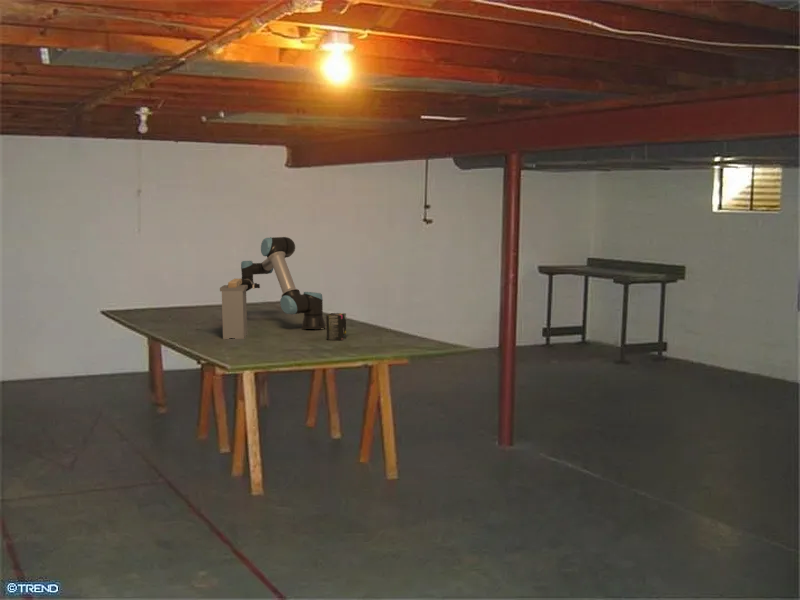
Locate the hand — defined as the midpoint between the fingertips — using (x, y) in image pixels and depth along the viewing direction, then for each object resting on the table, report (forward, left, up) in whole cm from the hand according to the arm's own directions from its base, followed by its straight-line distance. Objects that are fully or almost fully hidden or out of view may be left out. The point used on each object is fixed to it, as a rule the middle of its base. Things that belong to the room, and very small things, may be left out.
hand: (242, 286), depth 567 cm
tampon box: (-60, +55, -26) cm, 86 cm away
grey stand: (0, +40, -26) cm, 48 cm away
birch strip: (0, +34, +4) cm, 34 cm away
